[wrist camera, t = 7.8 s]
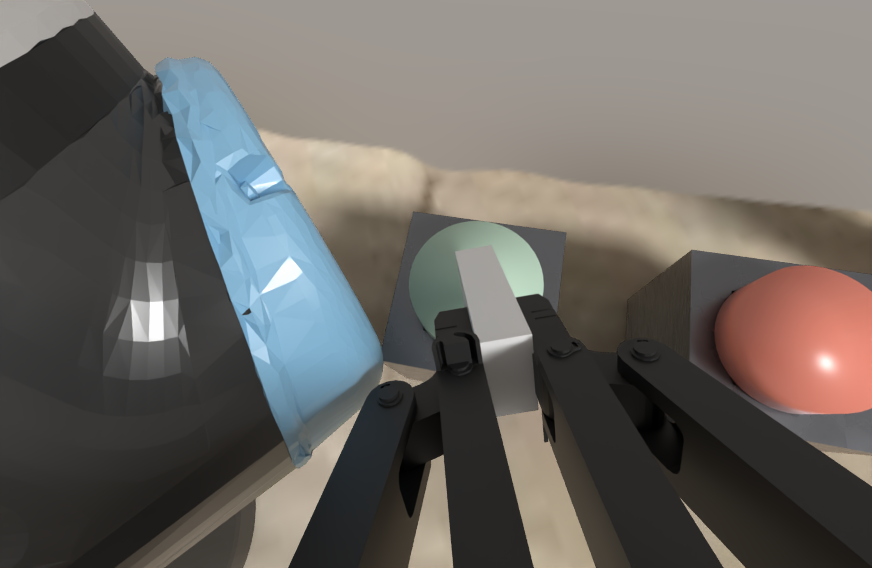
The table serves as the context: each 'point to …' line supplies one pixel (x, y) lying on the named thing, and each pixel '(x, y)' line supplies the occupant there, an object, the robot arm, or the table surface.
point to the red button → (800, 341)
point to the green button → (438, 270)
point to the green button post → (404, 330)
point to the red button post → (694, 335)
